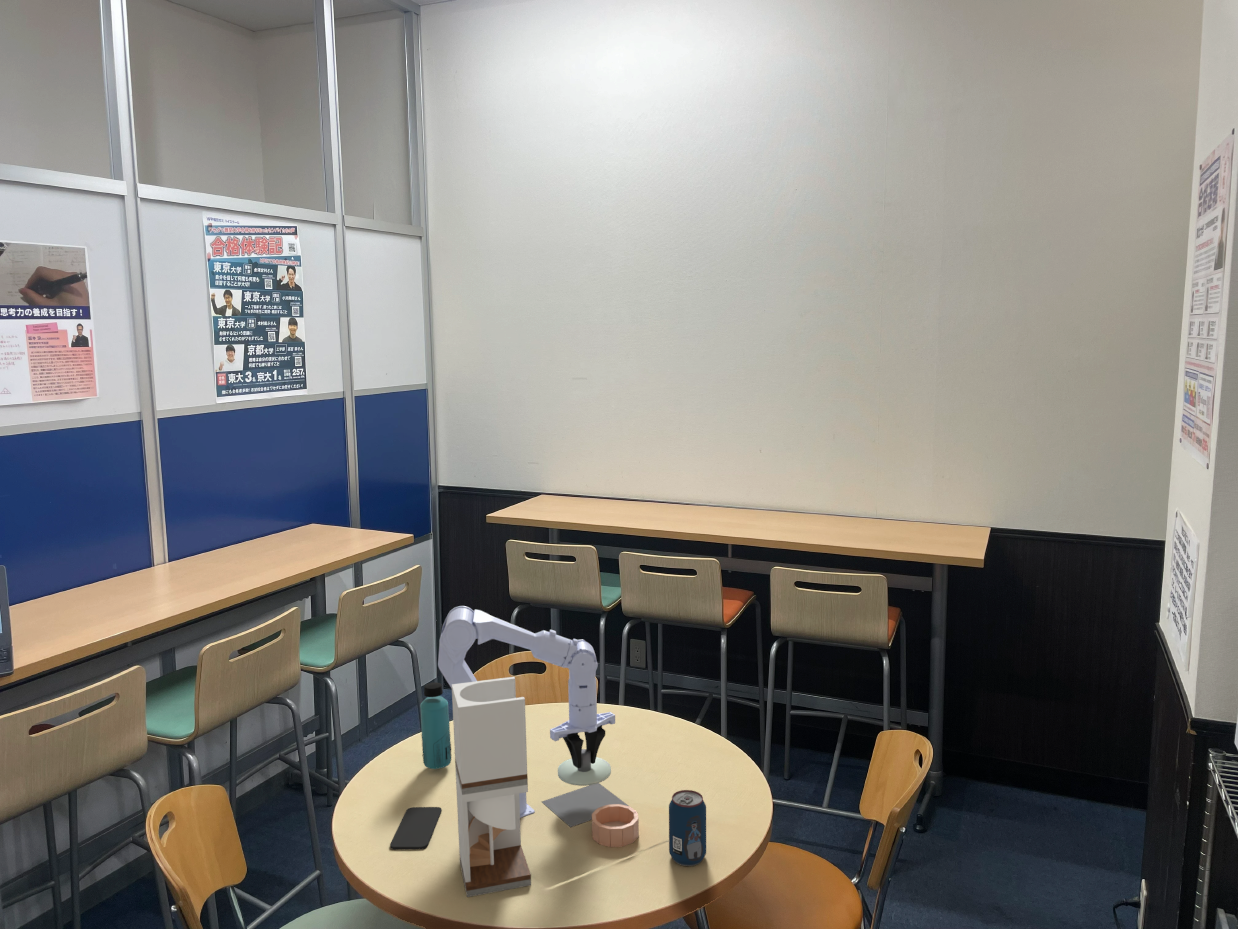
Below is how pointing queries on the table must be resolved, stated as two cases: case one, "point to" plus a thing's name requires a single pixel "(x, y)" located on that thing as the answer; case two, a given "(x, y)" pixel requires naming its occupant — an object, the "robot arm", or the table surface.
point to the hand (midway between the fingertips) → (584, 764)
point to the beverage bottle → (435, 728)
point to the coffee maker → (490, 784)
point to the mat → (581, 803)
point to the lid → (584, 770)
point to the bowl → (615, 825)
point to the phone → (416, 828)
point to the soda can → (687, 828)
